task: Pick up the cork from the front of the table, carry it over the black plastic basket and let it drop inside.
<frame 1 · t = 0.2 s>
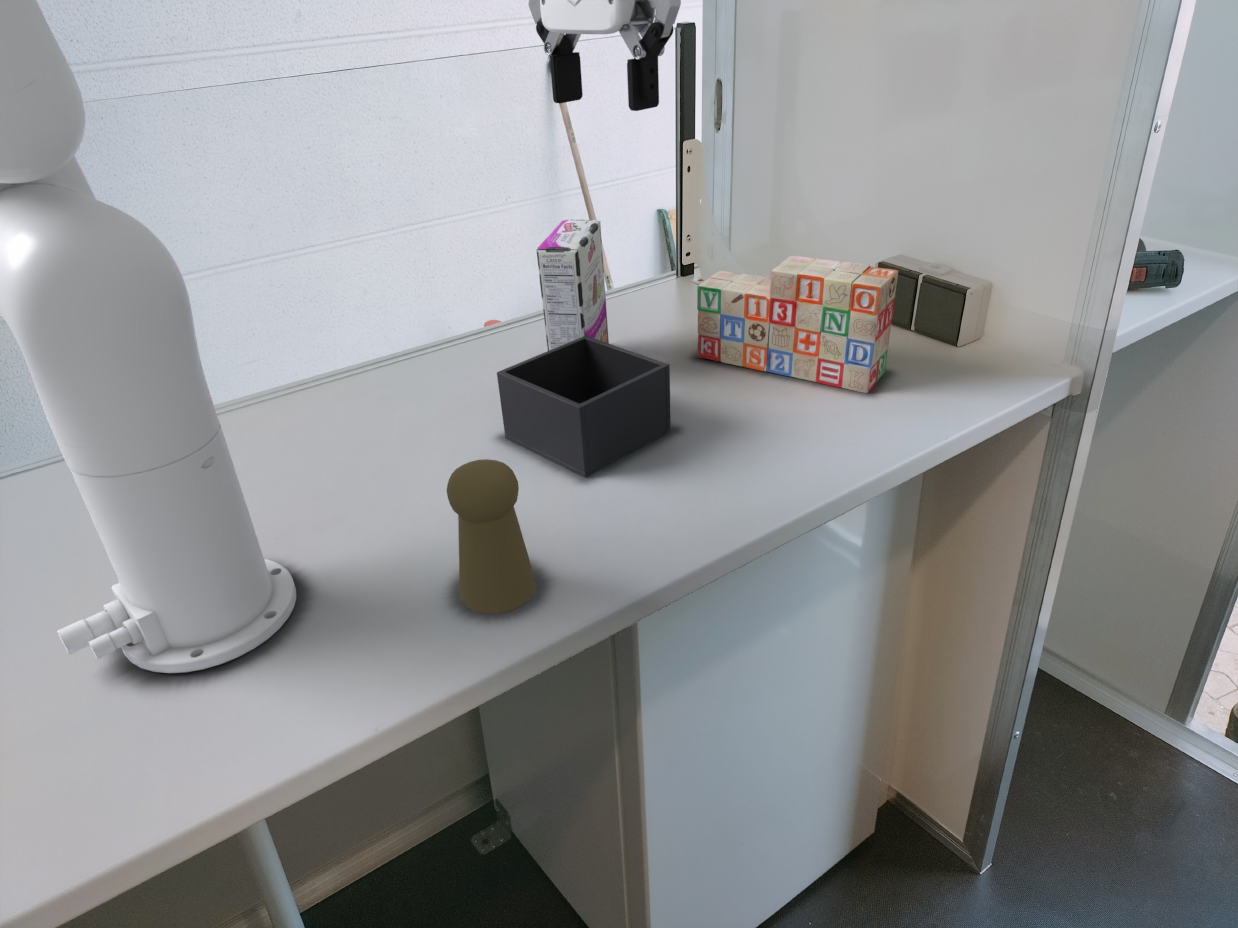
hand: (604, 105, 76), 31 cm above the table, tool pointing down, fingers open, 9 cm apart
cork: (498, 590, 67), on the table
stack of blocks: (788, 367, 101), on the table
basket: (587, 434, 88), on the table
candy bar box: (580, 369, 103), on the table
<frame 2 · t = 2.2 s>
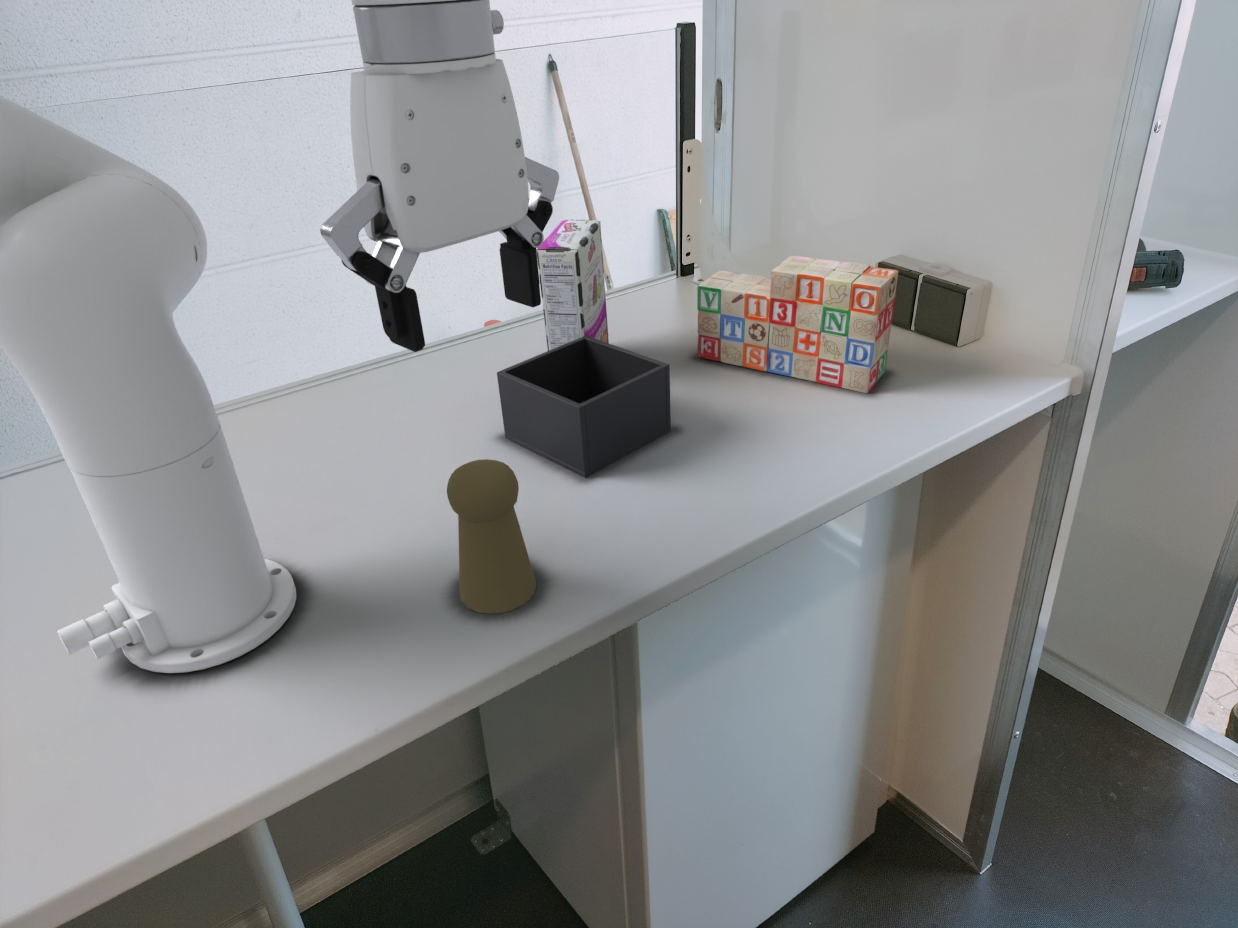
hand: (468, 323, 57), 22 cm above the table, tool pointing down, fingers open, 9 cm apart
nothing on the table moved.
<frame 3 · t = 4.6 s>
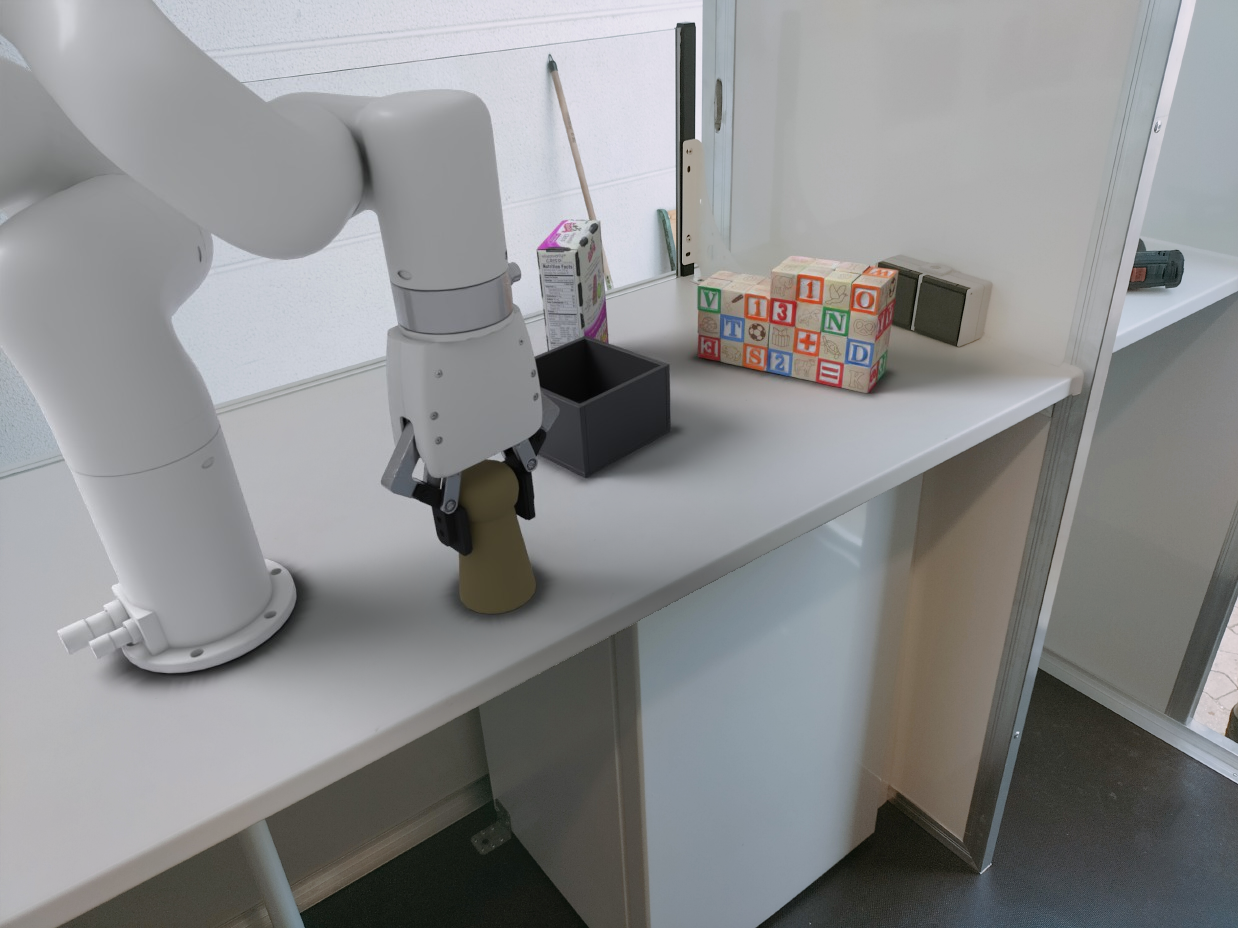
hand: (488, 527, 64), 6 cm above the table, tool pointing down, fingers closed on cork, 5 cm apart
cork: (498, 590, 67), on the table, touching gripper
everything else where it was.
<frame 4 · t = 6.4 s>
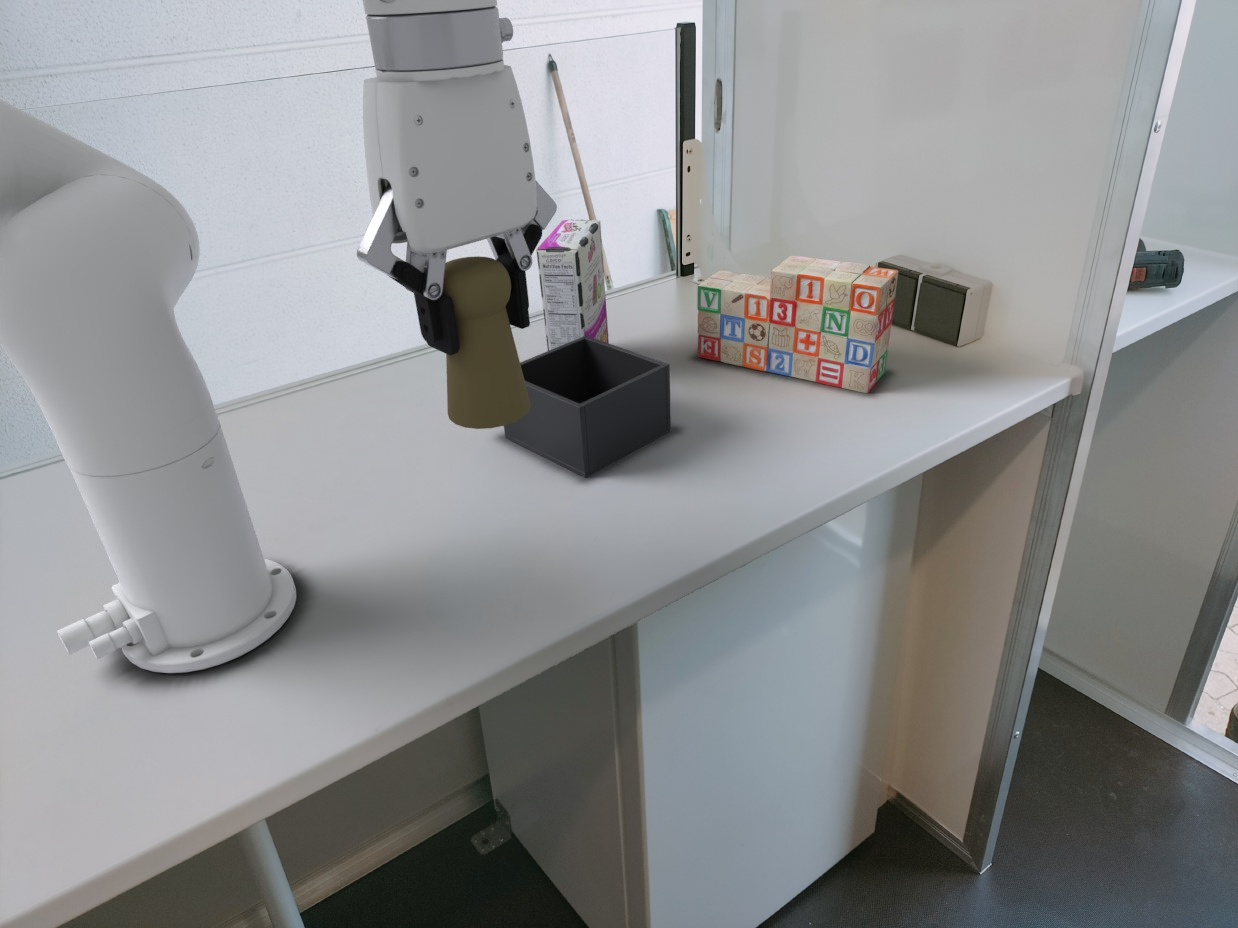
hand: (478, 333, 59), 20 cm above the table, tool pointing down, fingers closed on cork, 5 cm apart
cork: (489, 411, 62), point 14 cm above the table, touching gripper
everything else where it was.
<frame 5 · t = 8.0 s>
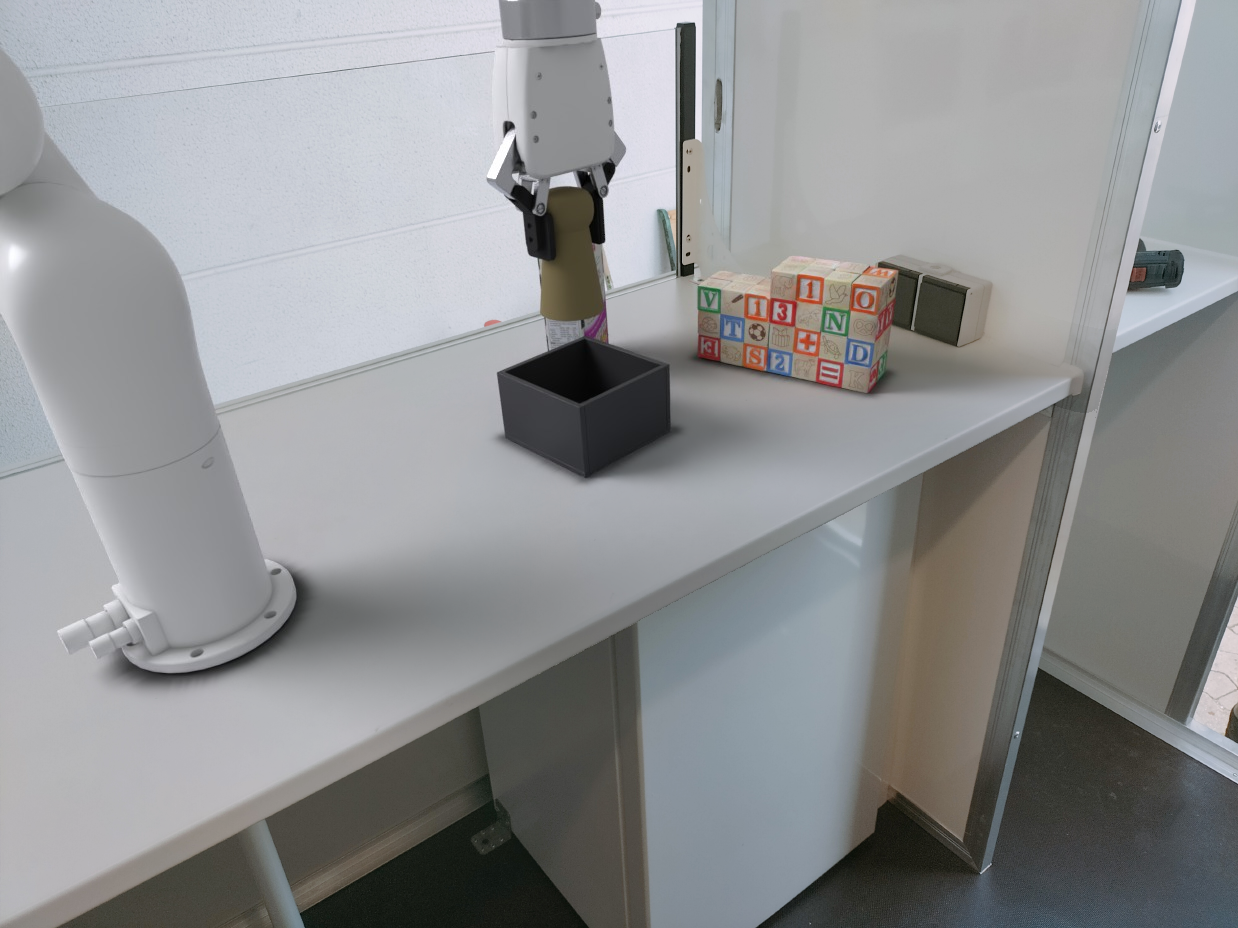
hand: (567, 247, 76), 20 cm above the table, tool pointing down, fingers closed on cork, 5 cm apart
cork: (572, 311, 79), point 14 cm above the table, touching gripper
everything else where it was.
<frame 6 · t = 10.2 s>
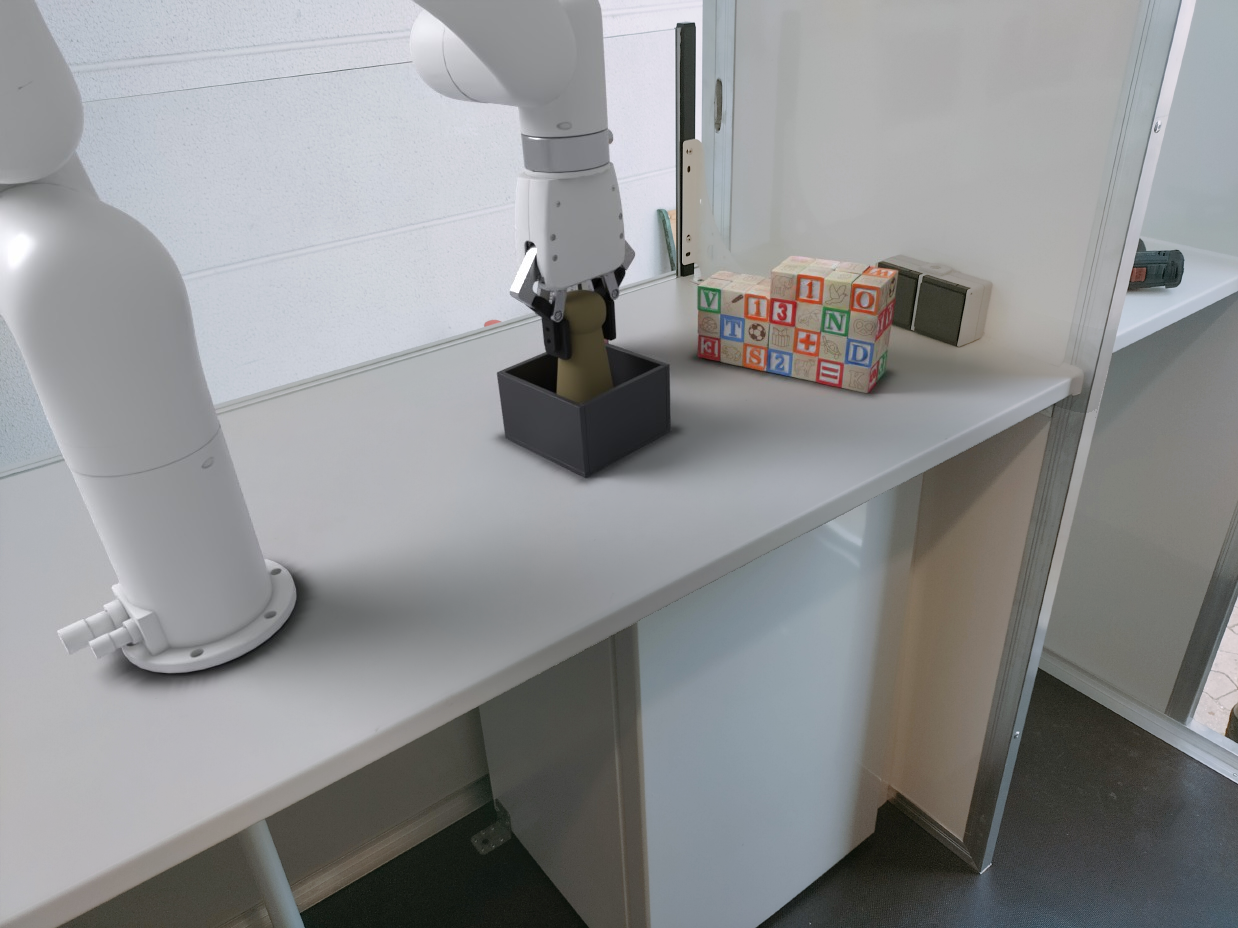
hand: (581, 344, 83), 10 cm above the table, tool pointing down, fingers closed on cork, 5 cm apart
cork: (585, 400, 86), point 4 cm above the table, touching gripper
everything else where it was.
when the fingers open (6 cm above the table, at t = 11.8 s): cork stays where it is, resting on basket.
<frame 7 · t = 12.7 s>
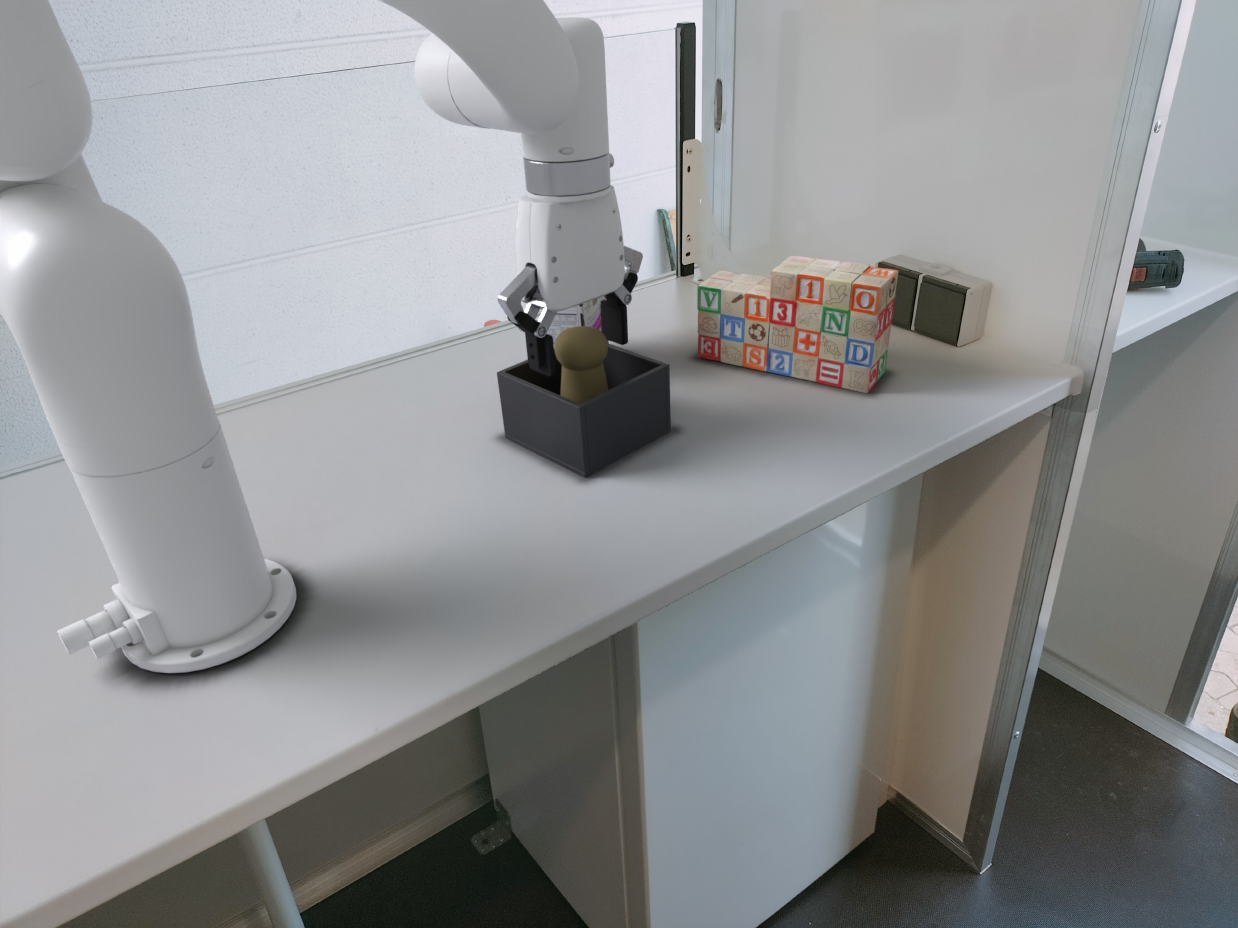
hand: (580, 356, 84), 9 cm above the table, tool pointing down, fingers open, 9 cm apart
cork: (587, 432, 88), resting on basket
everything else where it was.
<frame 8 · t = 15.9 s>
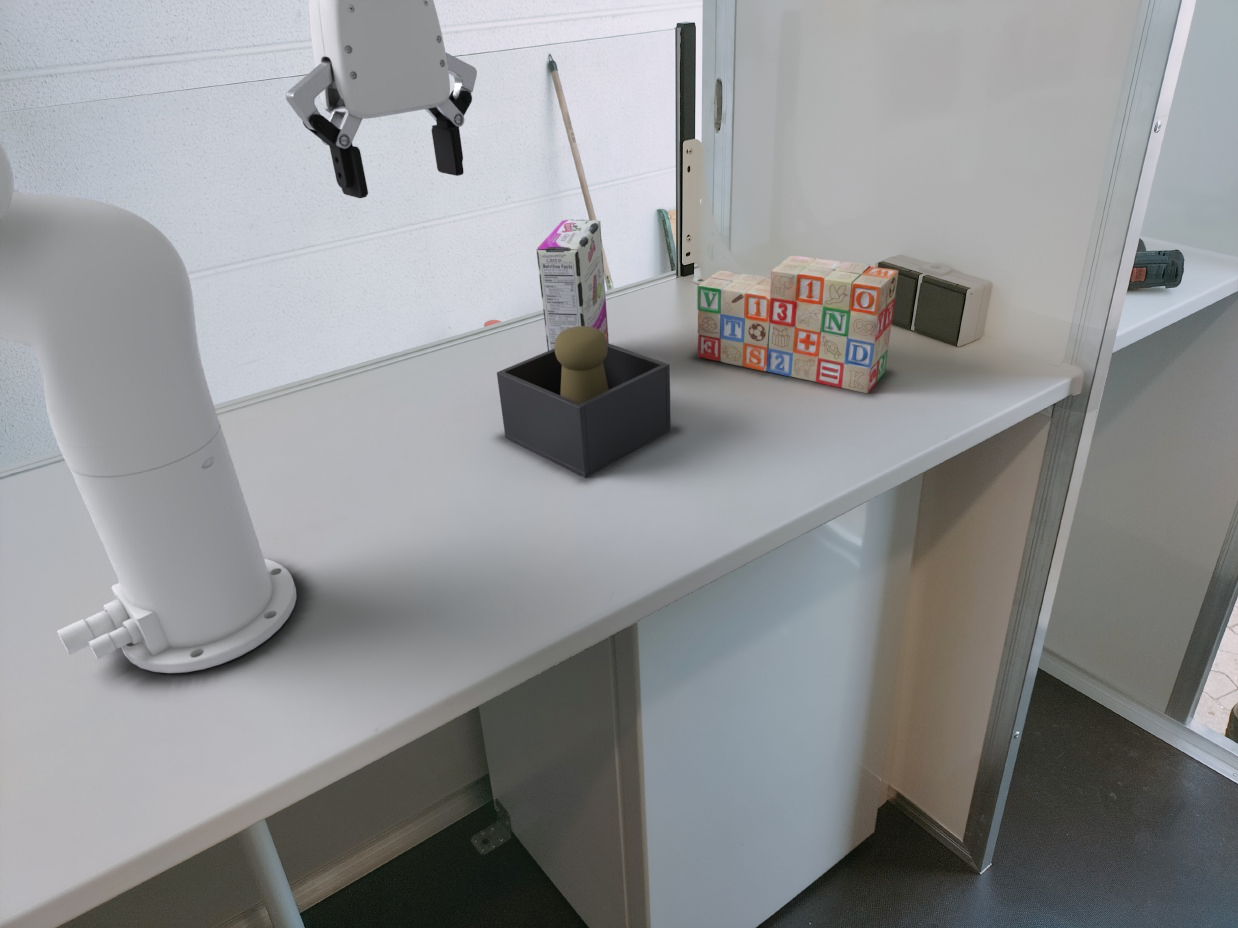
hand: (405, 184, 74), 26 cm above the table, tool pointing down, fingers open, 9 cm apart
nothing on the table moved.
at the end: cork inside the target area in the basket (0.1 cm from its centre), point 0.3 cm above the basket's base; the gripper is holding nothing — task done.
